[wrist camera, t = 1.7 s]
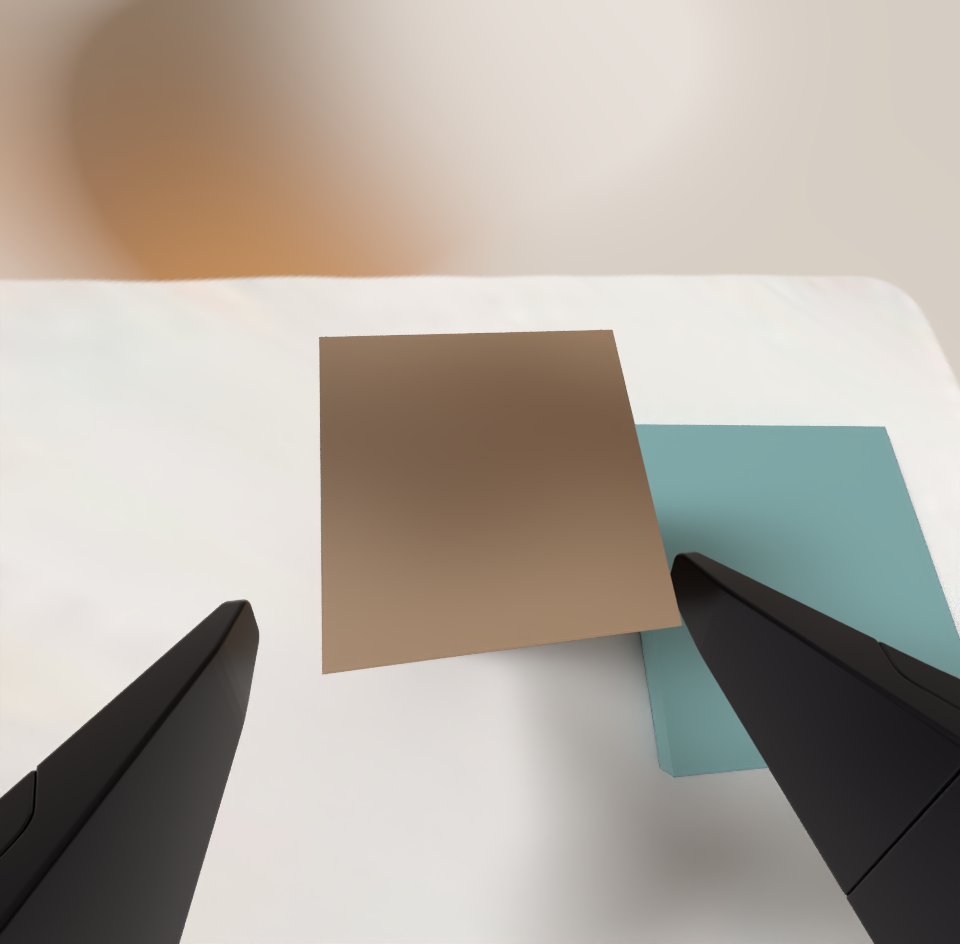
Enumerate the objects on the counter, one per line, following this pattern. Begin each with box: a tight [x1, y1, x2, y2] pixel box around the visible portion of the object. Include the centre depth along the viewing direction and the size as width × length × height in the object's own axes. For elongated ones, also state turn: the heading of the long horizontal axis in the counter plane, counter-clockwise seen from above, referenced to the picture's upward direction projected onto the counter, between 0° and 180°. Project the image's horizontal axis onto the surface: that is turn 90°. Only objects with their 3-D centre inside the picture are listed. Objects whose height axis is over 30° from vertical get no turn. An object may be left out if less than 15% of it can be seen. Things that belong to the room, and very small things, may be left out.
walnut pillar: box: [319, 330, 682, 674], centre depth 13 cm, size 5×5×12 cm
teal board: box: [635, 424, 960, 777], centre depth 20 cm, size 14×14×1 cm
